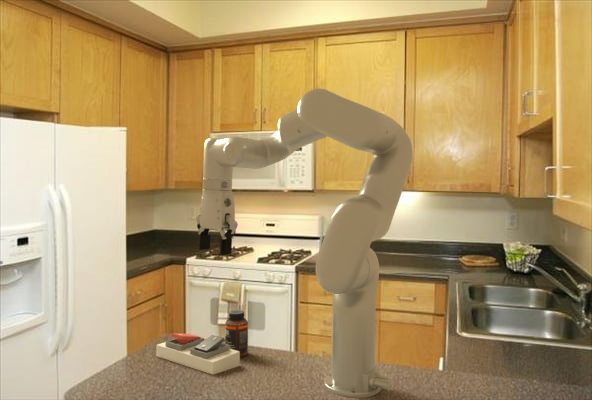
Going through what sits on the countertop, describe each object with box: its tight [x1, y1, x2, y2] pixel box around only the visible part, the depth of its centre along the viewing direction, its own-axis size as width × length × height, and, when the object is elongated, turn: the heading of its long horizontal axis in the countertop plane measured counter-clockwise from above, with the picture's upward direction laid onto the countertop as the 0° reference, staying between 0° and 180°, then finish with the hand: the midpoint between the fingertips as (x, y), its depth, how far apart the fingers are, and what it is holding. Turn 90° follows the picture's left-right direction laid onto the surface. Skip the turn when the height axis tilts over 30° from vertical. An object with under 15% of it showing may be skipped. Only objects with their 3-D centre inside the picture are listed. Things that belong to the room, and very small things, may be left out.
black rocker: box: [195, 334, 225, 353], centre depth 111 cm, size 4×6×2 cm, turn 145°
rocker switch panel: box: [155, 336, 241, 375], centre depth 114 cm, size 20×9×5 cm, turn 55°
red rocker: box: [170, 332, 201, 344], centre depth 117 cm, size 4×6×2 cm, turn 145°
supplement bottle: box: [224, 309, 249, 358], centre depth 121 cm, size 6×6×11 cm
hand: (214, 251), depth 120 cm, fingers open, 9 cm apart
